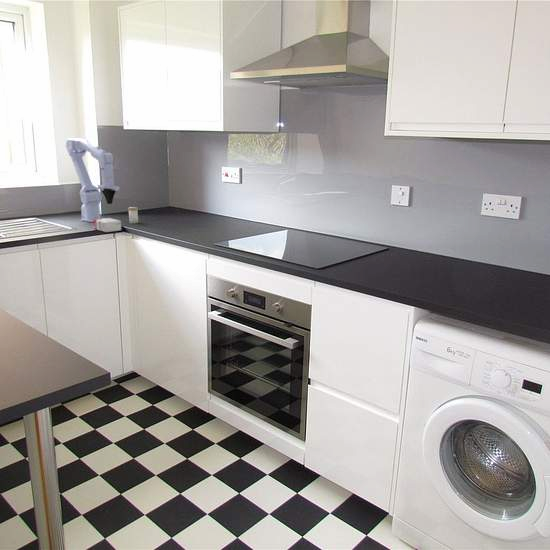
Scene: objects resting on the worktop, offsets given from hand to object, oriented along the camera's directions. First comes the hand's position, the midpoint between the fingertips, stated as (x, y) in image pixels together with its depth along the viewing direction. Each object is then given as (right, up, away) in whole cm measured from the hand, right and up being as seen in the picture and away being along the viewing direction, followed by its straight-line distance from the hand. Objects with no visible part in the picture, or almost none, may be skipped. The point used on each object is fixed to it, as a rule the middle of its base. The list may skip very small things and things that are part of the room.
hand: (109, 203), depth 273 cm
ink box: (0, -11, -11) cm, 16 cm away
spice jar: (+11, -9, +6) cm, 15 cm away
